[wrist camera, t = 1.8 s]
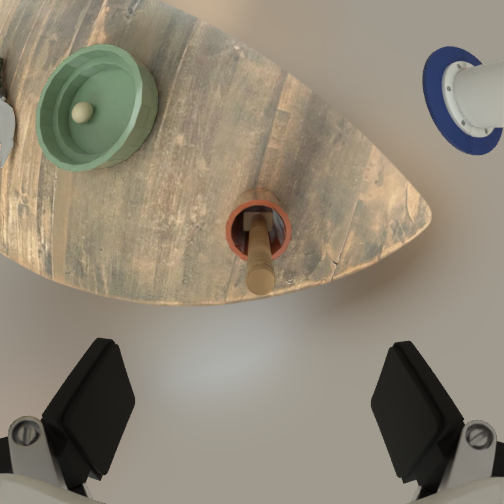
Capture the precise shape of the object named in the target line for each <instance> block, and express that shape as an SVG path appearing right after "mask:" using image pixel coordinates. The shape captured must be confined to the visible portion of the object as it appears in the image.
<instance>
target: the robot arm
mask: <svg viewBox="0 0 504 504" xmlns="http://www.w3.org/2000/svg"><path fill="white" fill-rule="evenodd" d="M442 93H443V98H444V102H445V105H446V107H447V110H448V112H449V114H450V116H451V117H452V119H453V121H454V122H455V123H456V125H457V126H458V127H459V128H460V129H461V130H462V131H463V132H465V133H466V134H468V135H470V136H472V137H485V136H487V135H489V134H490V133H491V132H492V131H493V129H494V128H504V59H501V60H497V61H493V62H490V63H485V64H482V65H478V66H473V65H471V64H470V63H467V62H464V61H458V62H454V63H452V64H450V65H449V66H447V68H446V69H445V71H444V73H443V76H442ZM134 405H135V397H134V393H133V391H132V387H131V384H130V381H129V378H128V376H127V372H126V369H125V366H124V362H123V359H122V356H121V352H120V349H119V346H118V345H117V344H115V342H114V341H113V340H112V339H105V338H97V339H96V340H95V341H94V342H93V343H92V345H91V346H90V347H89V349H88V350H87V352H86V353H85V354H84V355H83V357H82V358H81V360H80V361H79V362H78V364H77V365H76V366H75V368H74V369H73V370H72V372H71V373H70V375H69V376H68V377H67V379H66V380H65V382H64V383H63V385H62V386H61V387H60V389H59V390H58V392H57V393H56V395H55V396H54V398H53V399H52V401H51V402H50V403H49V405H48V406H47V408H46V410H45V411H44V413H43V414H42V417H43V418H42V419H41V421H40V420H39V419H37V418H35V417H32V416H23V417H20V418H18V419H17V420H15V421H14V422H13V423H12V424H11V425H10V428H9V430H8V437H4V438H1V439H0V504H105V503H102V502H98V501H96V500H93V498H92V496H91V494H90V492H89V490H88V487H87V485H86V480H87V478H88V477H90V478H93V479H96V480H99V481H100V480H101V478H102V476H103V475H106V474H107V473H108V470H109V468H110V465H111V463H112V460H113V458H114V455H115V452H116V450H117V447H118V445H119V442H120V440H121V437H122V434H123V432H124V430H125V427H126V424H127V422H128V420H129V418H130V415H131V413H132V410H133V408H134ZM371 408H372V411H373V413H374V416H375V418H376V421H377V423H378V426H379V428H380V431H381V434H382V436H383V439H384V442H385V444H386V447H387V450H388V452H389V455H390V458H391V461H392V463H393V466H394V469H395V472H396V474H397V476H398V477H399V478H402V480H403V483H408V482H410V481H413V480H417V482H418V488H417V490H416V492H415V494H414V496H413V498H412V501H411V502H410V503H407V504H504V443H502V442H498V441H497V435H496V432H495V430H494V429H493V427H492V426H491V425H490V424H488V423H487V422H484V421H481V420H474V421H470V422H468V423H467V424H466V425H465V424H464V422H463V420H464V418H463V417H462V415H461V413H460V412H459V410H458V408H457V407H456V405H455V404H454V402H453V401H452V399H451V398H450V396H449V395H448V393H447V392H446V390H445V389H444V388H443V386H442V384H441V383H440V382H439V380H438V378H437V377H436V375H435V374H434V373H433V372H432V370H431V368H430V367H429V366H428V364H427V363H426V361H425V360H424V358H423V357H422V356H421V354H420V353H419V351H418V350H417V349H416V347H415V346H414V345H413V343H412V342H411V341H404V342H396V343H394V345H393V347H391V348H389V350H388V354H387V357H386V360H385V363H384V366H383V369H382V372H381V374H380V377H379V380H378V383H377V386H376V388H375V391H374V394H373V396H372V399H371Z"/></svg>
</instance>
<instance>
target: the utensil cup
mask: <svg viewBox="0 0 504 504" xmlns="http://www.w3.org/2000/svg"><path fill="white" fill-rule="evenodd" d="M253 205H265V206H267V207H270V208H272V211H273V231H268V236H269V243H270V249H271V255H272V260H274V259H276V258H278V257H279V256H280V255H281V254H282V253H283V252H284V251H285V250H286V248H287V246H288V244H289V242H290V240H291V230H292V227H291V223H290V221H289V218H288V215H287V213H286V212H285V210H284V208H283V206H282V204H281V203H280V201H279V199H278V198H277V197H276V196H275V195H274V194H273V193H272V192H270V191H268V190H266V189H262V188H254V189H250V190H247V191H245V192H244V193H243V194H241V195H240V196H239V198H238V199H237V200H236V203H235V205H234V207H233V209H232V212H231V214H230V216H229V219H228V221H227V224H226V239H227V242H228V244H229V246H230V249H231V250H232V251H233V252H234V253H235V254H236V255H237V256H238V257H239V258H241V259H243V260H246V261H247V258H248V245H249V233H250V231H244V209H245V208H248V207H250V206H253Z"/></svg>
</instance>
